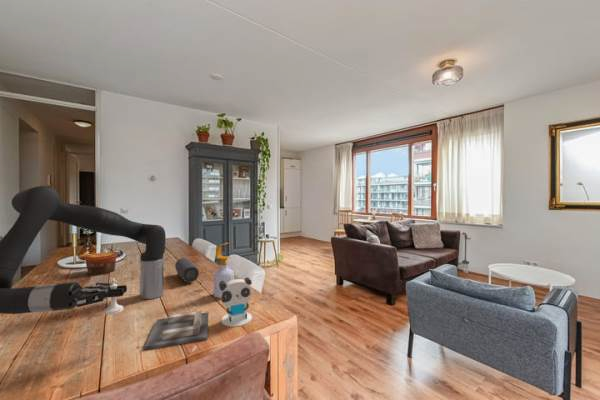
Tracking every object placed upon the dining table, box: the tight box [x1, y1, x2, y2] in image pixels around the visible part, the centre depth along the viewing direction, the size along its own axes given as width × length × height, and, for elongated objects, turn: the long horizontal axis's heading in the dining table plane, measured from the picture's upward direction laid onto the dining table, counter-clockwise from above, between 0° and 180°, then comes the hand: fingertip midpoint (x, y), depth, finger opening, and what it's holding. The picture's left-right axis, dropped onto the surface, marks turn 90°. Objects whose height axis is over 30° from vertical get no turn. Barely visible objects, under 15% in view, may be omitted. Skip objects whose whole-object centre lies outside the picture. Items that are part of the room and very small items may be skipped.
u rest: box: [144, 310, 209, 351], centre depth 90 cm, size 18×18×3 cm
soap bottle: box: [213, 242, 235, 299], centre depth 121 cm, size 9×9×25 cm
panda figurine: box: [219, 277, 253, 328], centre depth 98 cm, size 12×11×15 cm
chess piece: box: [103, 278, 124, 315], centre depth 79 cm, size 5×5×10 cm
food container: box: [83, 251, 118, 276], centre depth 156 cm, size 16×16×11 cm
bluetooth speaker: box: [174, 257, 200, 283], centre depth 144 cm, size 23×9×10 cm, turn 34°
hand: (124, 290), depth 80 cm, fingers closed on chess piece
